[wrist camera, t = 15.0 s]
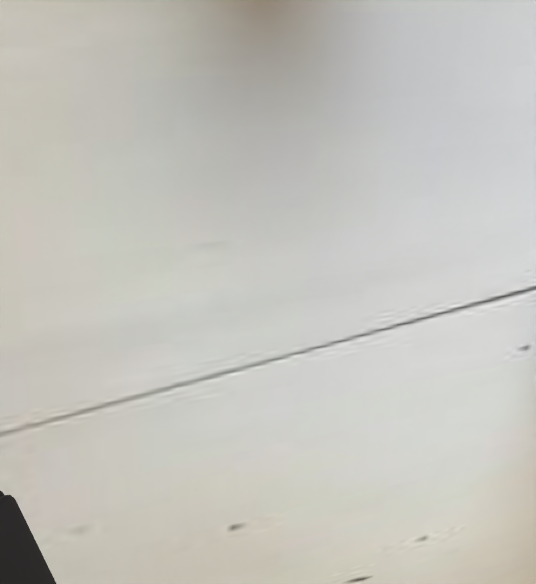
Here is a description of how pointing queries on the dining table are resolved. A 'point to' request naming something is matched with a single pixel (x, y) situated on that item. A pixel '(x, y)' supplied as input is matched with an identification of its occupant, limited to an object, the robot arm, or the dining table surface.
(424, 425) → the dining table surface
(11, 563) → the robot arm
